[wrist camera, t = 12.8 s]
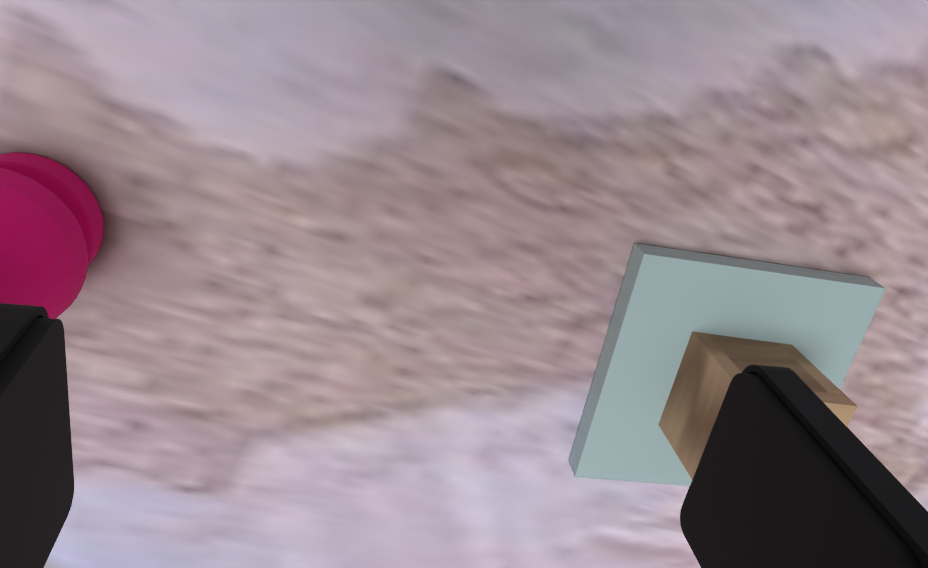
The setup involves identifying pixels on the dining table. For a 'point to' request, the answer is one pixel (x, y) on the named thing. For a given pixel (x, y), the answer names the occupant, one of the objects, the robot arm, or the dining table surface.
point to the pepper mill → (45, 232)
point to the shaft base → (713, 312)
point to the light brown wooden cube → (709, 379)
